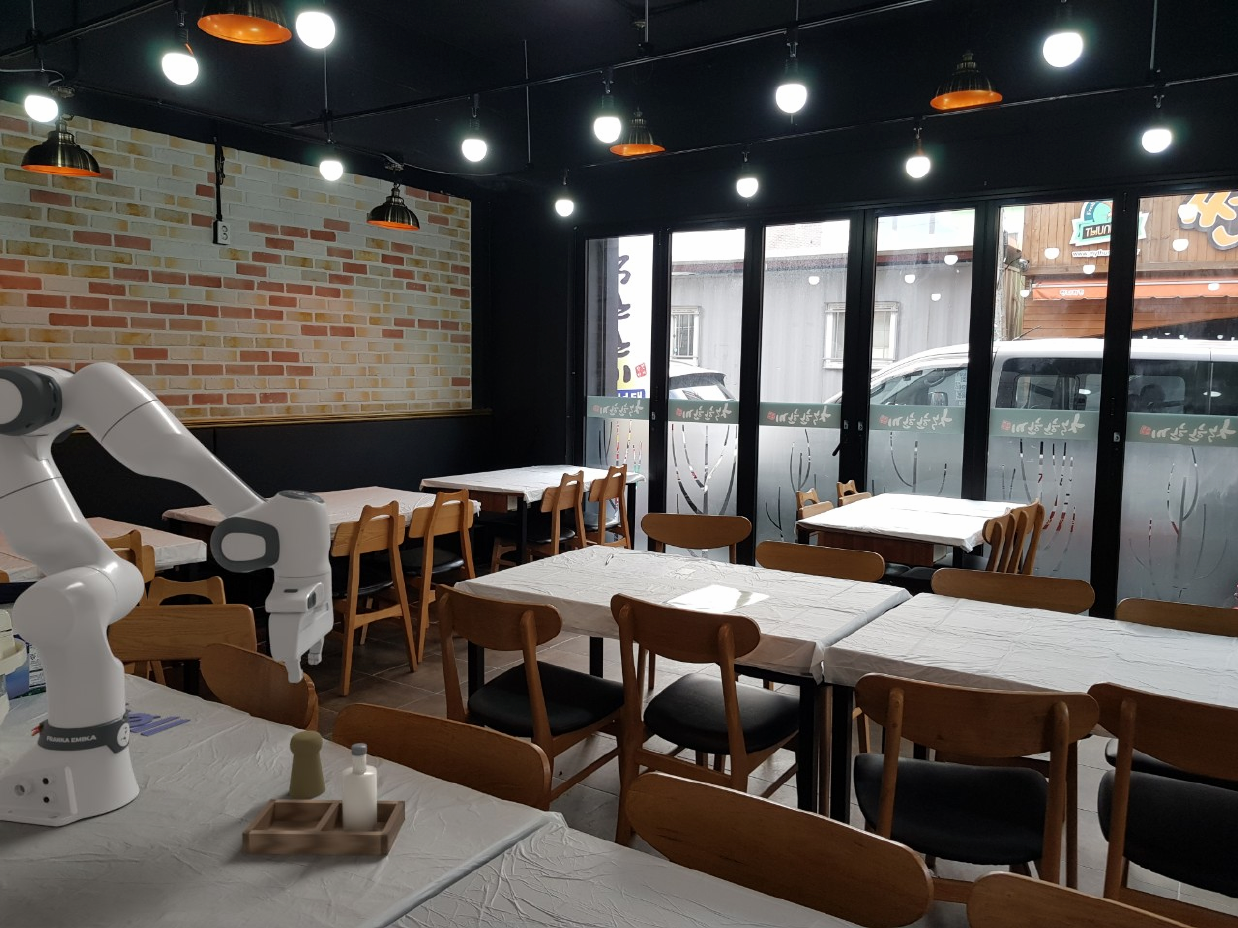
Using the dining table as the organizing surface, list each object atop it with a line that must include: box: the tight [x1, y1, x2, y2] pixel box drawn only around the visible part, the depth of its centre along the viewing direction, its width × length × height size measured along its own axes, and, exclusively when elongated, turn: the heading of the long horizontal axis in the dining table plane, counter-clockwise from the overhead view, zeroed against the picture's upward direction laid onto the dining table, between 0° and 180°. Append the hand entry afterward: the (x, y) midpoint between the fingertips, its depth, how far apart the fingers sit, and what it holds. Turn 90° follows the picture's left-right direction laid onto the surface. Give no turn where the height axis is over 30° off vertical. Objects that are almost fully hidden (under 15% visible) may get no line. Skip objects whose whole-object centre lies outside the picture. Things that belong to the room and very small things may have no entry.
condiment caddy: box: [241, 798, 406, 856], centre depth 139 cm, size 21×11×4 cm, turn 90°
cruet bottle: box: [341, 742, 378, 832], centre depth 138 cm, size 5×5×14 cm
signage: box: [125, 702, 191, 737], centre depth 190 cm, size 28×1×10 cm
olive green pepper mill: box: [288, 730, 326, 800], centre depth 154 cm, size 6×6×11 cm
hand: (305, 672), depth 152 cm, fingers open, 8 cm apart
